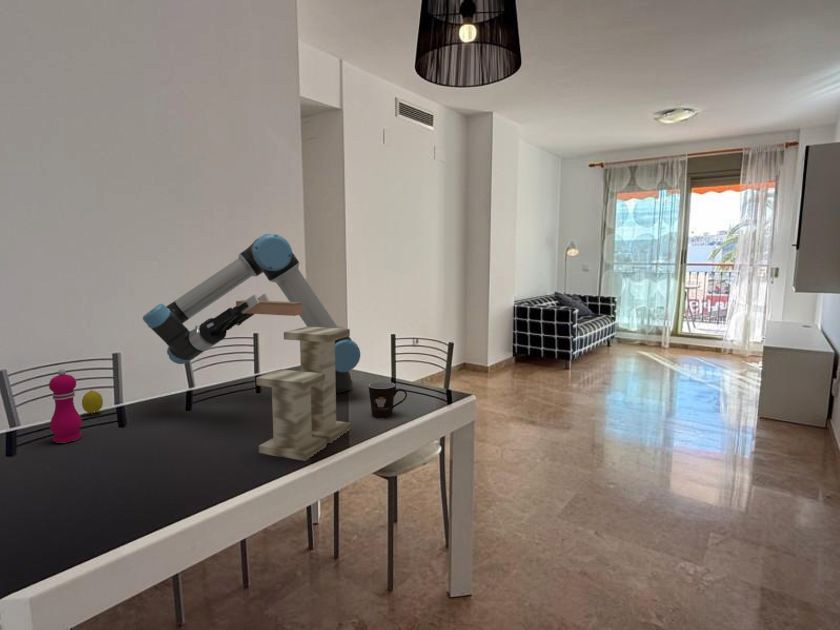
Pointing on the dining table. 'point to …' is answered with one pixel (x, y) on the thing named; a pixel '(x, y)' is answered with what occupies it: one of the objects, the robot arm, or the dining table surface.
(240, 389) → the dining table surface
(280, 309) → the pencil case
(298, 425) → the two-tier stand
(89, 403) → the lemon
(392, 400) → the coffee mug
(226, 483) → the dining table surface
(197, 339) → the robot arm
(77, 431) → the pepper mill
